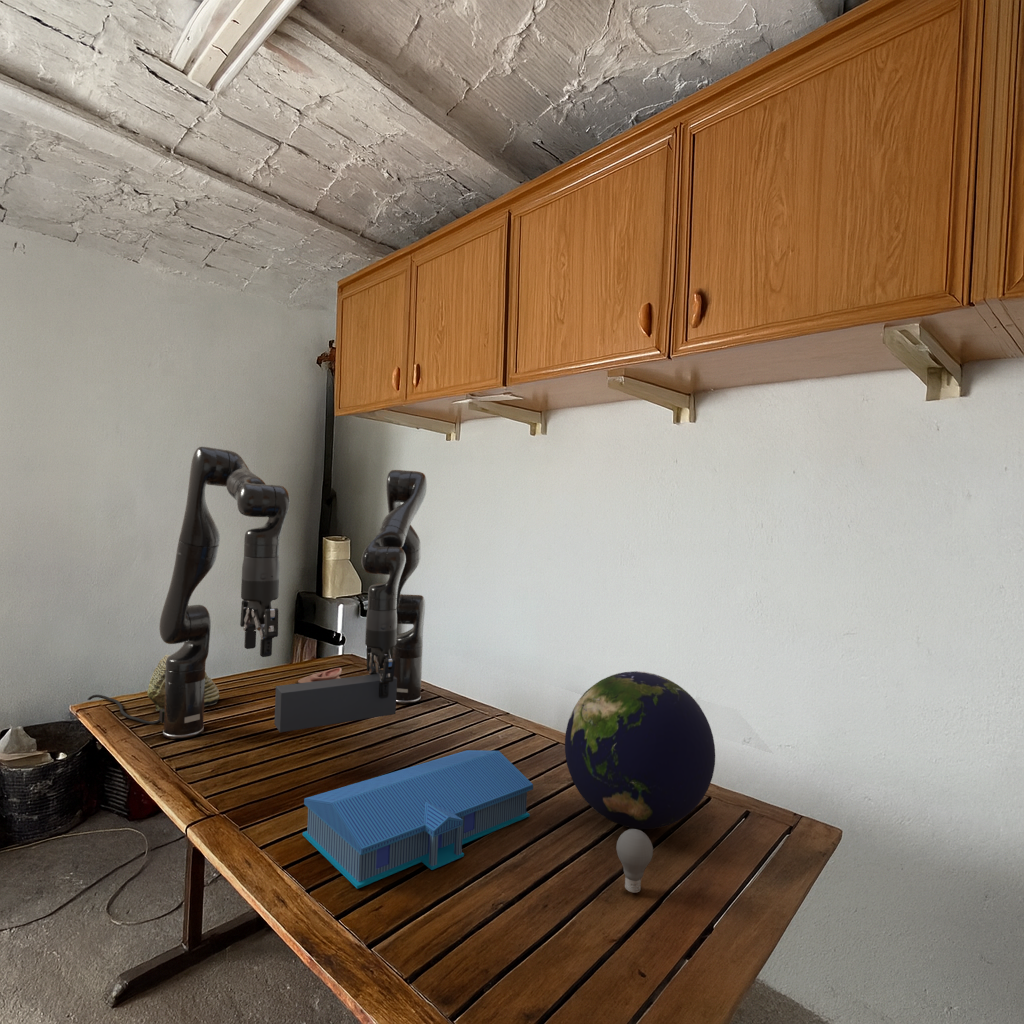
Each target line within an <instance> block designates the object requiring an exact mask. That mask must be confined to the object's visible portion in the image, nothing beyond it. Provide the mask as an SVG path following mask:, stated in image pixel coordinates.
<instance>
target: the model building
mask: <svg viewBox="0 0 1024 1024" xmlns="http://www.w3.org/2000/svg"><path fill="white" fill-rule="evenodd" d="M532 790H534V783H532V782H531V781H530V780H529V779H528V778H527V776H525V775H524V774H523V773H522V772H521V771H520V770H519V769H518V768H517V767H516V766H515V765H514V764H513V763H512V762H511V761H510V760H509V758H507V757H506V756H505V755H504V754H503V753H502V752H501V751H500V750H484V749H483V750H481V749H479V750H477V749H474V750H473V749H470V750H469V749H467V750H463V751H460V752H456V753H452V754H450V755H446V756H443V757H439V758H436V759H433V760H429V761H427V762H423V763H420V764H416V765H413V766H410V767H406V768H402V769H399V770H396V771H392V772H389V773H386V774H382V775H379V776H376V777H372V778H369V779H365V780H362V781H359V782H355V783H352V784H348V785H346V786H342V787H338V788H336V789H332V790H328V791H325V792H321V793H318V794H315V795H312V796H308V797H304V798H303V805H304V806H305V807H307V830H305V831H302V836H303V837H304V838H305V839H306V840H307V841H308V842H309V843H310V844H311V845H312V846H313V847H314V848H315V849H316V850H317V851H318V852H319V853H320V854H321V855H322V856H323V857H324V858H325V859H326V860H327V861H328V862H329V863H330V864H331V865H332V866H333V867H334V868H335V869H336V870H337V871H338V872H339V873H340V874H341V875H343V877H345V879H346V880H347V881H348V882H350V883H351V885H352V886H354V887H355V888H356V890H359V889H361V888H364V887H365V886H368V885H371V884H373V883H376V882H378V881H380V880H381V879H385V878H387V877H390V876H391V875H394V874H396V873H400V872H401V871H403V870H406V869H408V868H411V867H413V866H415V865H418V864H420V863H422V865H424V866H426V867H427V868H428V869H429V870H431V871H434V870H436V869H438V868H440V867H443V866H445V865H447V864H450V863H452V862H455V861H456V860H459V859H461V858H463V857H465V853H464V852H463V845H465V844H468V843H471V842H472V841H475V840H477V839H480V838H481V837H484V836H486V835H489V834H492V833H493V832H496V831H498V830H501V829H503V828H505V827H508V826H510V825H513V824H515V823H517V822H520V821H522V820H525V819H527V818H529V817H530V816H531V814H530V813H529V812H528V811H527V801H528V798H527V797H528V792H530V791H532Z"/></svg>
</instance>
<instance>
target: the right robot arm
mask: <svg viewBox="0 0 1024 1024" xmlns="http://www.w3.org/2000/svg"><path fill="white" fill-rule="evenodd" d="M427 482H428V481H427V476H426V475H425V473H424V472H421V471H416V470H404V469H403V470H402V469H391V470H390V471H389V472H388V473H387V475H386V482H385V483H386V485H385V487H386V488H385V489H386V490H385V491H386V501H387V511H388V513H387V515H386V516H385V517H384V519H383V520H382V522H381V524H380V527H379V530H378V533H377V534H376V535H375V536H374V537H373V539H372V540H371V541H370V542H369V543H368V544H367V546H366V547H365V549H364V550H363V552H362V554H361V566H362V569H363V570H364V571H365V572H366V573H367V574H371V575H385V576H387V575H388V579H387V581H384V582H379V583H373V584H371V585H370V586H369V587H368V591H367V612H366V616H365V617H366V618H365V637H364V638H365V639H364V640H365V641H364V644H365V646H366V647H365V648H366V649H365V650H366V651H365V653H366V655H365V656H366V671H367V672H368V675H372V674H378V675H379V682H380V683H379V697H380V698H387V697H388V693H389V682H393V679H394V677H396V678H397V691H396V704H399V705H411V704H416V703H419V702H420V701H421V700H422V694H421V693H422V672H423V649H424V648H423V647H424V645H423V644H424V624H425V614H426V599H425V597H424V596H423V595H422V594H403V593H402V591H403V588H404V586H405V584H406V583H407V581H408V580H409V578H410V577H411V576H412V575H413V573H414V572H415V571H416V569H417V568H418V566H419V564H420V562H421V539H420V536H419V535H418V533H417V532H416V530H415V528H414V527H413V526H412V522H413V520H414V518H415V516H416V515H417V514H418V512H419V510H420V508H421V506H422V505H423V502H424V500H425V498H426V494H427V490H428V489H427V487H428V486H427V485H428V483H427ZM398 625H413V627H412V628H410V629H409V630H406V631H404V632H402V633H399V634H398V633H397V631H398ZM391 648H392V656H391ZM382 673H383V675H382ZM386 676H387V677H386Z"/></svg>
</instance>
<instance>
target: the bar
mask: <svg viewBox="0 0 1024 1024" xmlns="http://www.w3.org/2000/svg"><path fill="white" fill-rule="evenodd" d="M382 675H383V673H382ZM386 677H387V676H386ZM379 683H380V682H379V675H378V674H372V675H369V674H365V675H357V676H349V677H348V676H347V677H340V678H339V679H331V680H322V681H314V682H306V683H299V682H297V683H291V684H283V685H276V686H275V698H274V701H275V702H274V723H273V724H274V726H275V727H276V729H277V730H278V732H279V733H281V734H282V733H286V732H293V731H298V730H305V729H312V728H317V727H323V726H330V725H336V724H342V723H349V722H355V721H361V720H367V719H374V718H379V717H387V716H392V715H396V713H397V711H396V710H397V703H396V691H397V678H396V677H394V679H393V682H389V693H388V697H387V698H380V697H379Z"/></svg>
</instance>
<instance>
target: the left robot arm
mask: <svg viewBox="0 0 1024 1024" xmlns="http://www.w3.org/2000/svg"><path fill="white" fill-rule="evenodd" d="M189 470H190V471H189V481H188V488H187V495H186V496H187V497H186V503H185V510H184V514H183V519H182V525H181V528H180V534H179V536H178V541H177V547H176V553H175V560H174V566H173V570H172V574H171V579H170V584H169V589H168V591H167V594H166V598H165V601H164V603H163V608H162V611H161V615H160V618H159V625H158V626H159V636H160V638H161V640H162V641H163V642H164V644H167V645H177V644H182V646H180V648H179V649H178V650H177V651H175V652H173V653H172V654H169V655H170V656H169V657H168V658H167V660H166V674H165V705H164V709H160V711H159V718H158V719H157V720H155V721H149V720H145V719H142V718H139V717H136V716H133V715H130V714H129V713H126V712H125V710H124V706H123V705H122V703H121V702H120V701H119V700H117V699H115V698H112V697H109V696H106V695H103V694H92V695H91V696H89V697H88V698H87V701H90V700H92V699H95V698H99V699H103V700H106V701H108V702H112V703H115V704H116V705H117V707H118V708H119V712H120V714H121V715H122V716H123V717H125V718H126V719H128V720H132V721H136V722H137V723H141V724H144V725H145V724H146V725H157V724H163V730H162V737H164V738H166V739H169V740H185V739H190V738H191V739H192V738H194V737H197V736H199V735H202V734H203V732H204V730H205V729H204V727H205V725H204V722H205V721H204V718H205V706H204V693H205V672H206V664H207V663H206V662H207V658H208V655H209V651H210V639H211V628H212V621H211V620H212V619H211V614H210V612H209V610H208V608H207V607H206V606H205V605H203V604H190V605H189V603H190V600H191V597H192V595H193V593H194V591H195V590H196V588H197V587H198V586H199V585H200V583H201V582H202V581H203V580H204V578H206V576H207V575H208V573H209V572H210V571H211V570H212V568H213V567H214V565H215V563H216V560H217V557H218V551H219V546H220V542H221V541H220V540H221V537H220V531H219V529H218V526H217V525H216V523H215V520H214V519H213V517H212V514H211V512H210V510H209V507H208V505H207V501H206V487H207V485H209V486H215V487H226V490H227V492H228V494H229V496H231V498H233V499H234V500H235V501H236V505H237V509H238V510H237V511H238V512H239V513H240V514H241V515H243V516H246V517H249V518H267V520H266V522H265V524H264V525H261V526H258V527H254V528H250V529H247V530H246V532H245V533H244V540H243V541H244V542H243V543H244V544H243V546H244V547H243V561H242V564H241V565H242V566H241V582H240V583H241V584H240V585H241V586H240V598H241V607H240V608H241V609H240V620H239V621H240V622H239V626H240V627H241V628H242V630H243V631H244V646H243V647H244V649H247V650H250V649H255V648H256V647H257V631H258V632H259V636H260V648H259V656H260V657H262V658H268V657H271V656H272V654H273V639H275V638H278V636H279V608H278V607H275V608H272V602H273V601H276V600H278V599H279V596H280V594H279V592H280V569H281V568H280V567H281V566H280V557H279V556H280V539H281V535H282V531H283V527H284V525H285V520H286V518H287V515H288V512H289V510H290V504H291V497H290V493H289V491H288V490H287V488H286V487H284V486H283V485H279V484H267V483H266V482H265V481H264V480H263V479H261V477H259V476H258V475H256V474H255V473H253V472H252V471H251V470H250V469H249V466H248V465H247V464H246V462H245V461H244V459H243V458H242V456H241V455H239V454H238V453H237V452H235V451H232V450H228V449H223V448H216V447H210V446H199V447H197V448H196V449H195V451H194V453H193V455H192V458H191V463H190V469H189Z"/></svg>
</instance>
